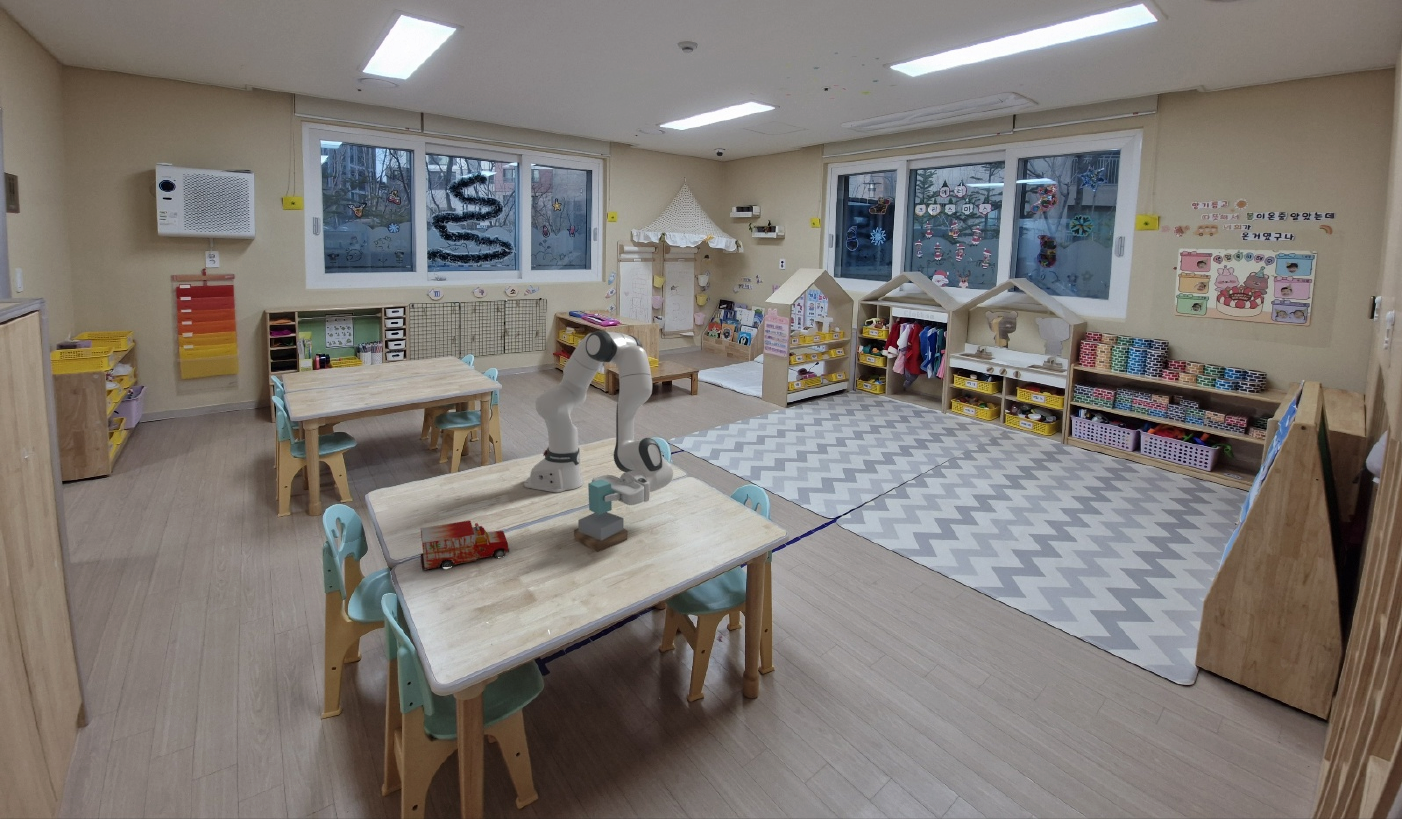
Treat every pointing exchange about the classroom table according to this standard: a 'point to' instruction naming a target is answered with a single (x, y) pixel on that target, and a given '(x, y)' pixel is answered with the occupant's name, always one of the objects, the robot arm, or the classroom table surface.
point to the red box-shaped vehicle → (459, 544)
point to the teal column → (599, 496)
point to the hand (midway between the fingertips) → (597, 496)
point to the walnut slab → (600, 544)
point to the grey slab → (601, 525)
